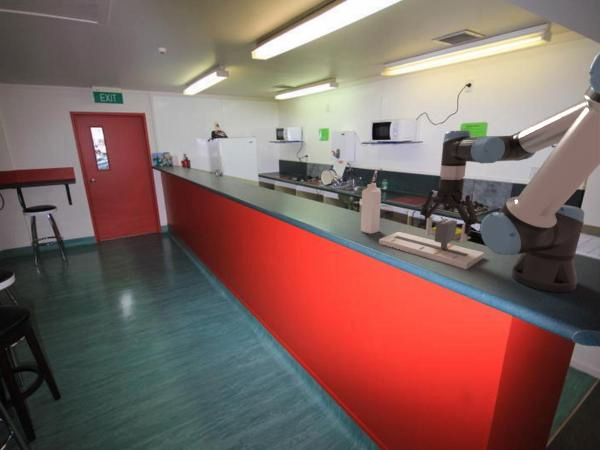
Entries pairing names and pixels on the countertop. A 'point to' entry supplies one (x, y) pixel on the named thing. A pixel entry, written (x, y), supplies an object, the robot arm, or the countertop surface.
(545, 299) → the countertop surface
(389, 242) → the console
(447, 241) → the fader
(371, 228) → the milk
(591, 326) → the countertop surface
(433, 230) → the emergency button
